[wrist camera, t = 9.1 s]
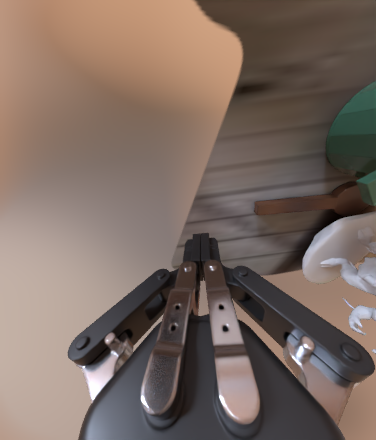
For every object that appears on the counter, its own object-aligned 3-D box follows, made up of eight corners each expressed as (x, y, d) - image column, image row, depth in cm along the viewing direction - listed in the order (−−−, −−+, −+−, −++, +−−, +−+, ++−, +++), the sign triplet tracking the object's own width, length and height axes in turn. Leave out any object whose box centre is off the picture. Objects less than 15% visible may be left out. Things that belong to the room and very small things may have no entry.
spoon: (253, 219, 23) (256, 223, 22) (255, 192, 21) (258, 195, 20) (357, 210, 21) (367, 214, 20) (370, 179, 19) (382, 182, 18)
